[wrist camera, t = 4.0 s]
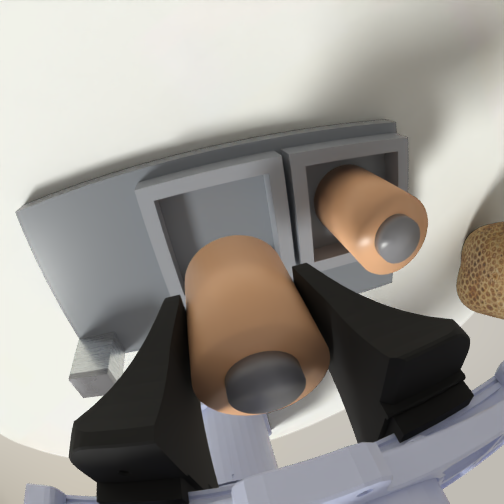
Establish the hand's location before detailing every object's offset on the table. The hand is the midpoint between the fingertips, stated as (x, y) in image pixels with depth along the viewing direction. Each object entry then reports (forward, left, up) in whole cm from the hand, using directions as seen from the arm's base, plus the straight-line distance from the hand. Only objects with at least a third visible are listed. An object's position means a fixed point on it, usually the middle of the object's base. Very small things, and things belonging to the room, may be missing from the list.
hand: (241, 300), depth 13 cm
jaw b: (0, 0, -2) cm, 2 cm away
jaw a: (0, -8, -7) cm, 11 cm away
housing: (-2, 0, -8) cm, 8 cm away
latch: (-7, +11, -7) cm, 14 cm away
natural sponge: (-8, -23, -8) cm, 25 cm away
